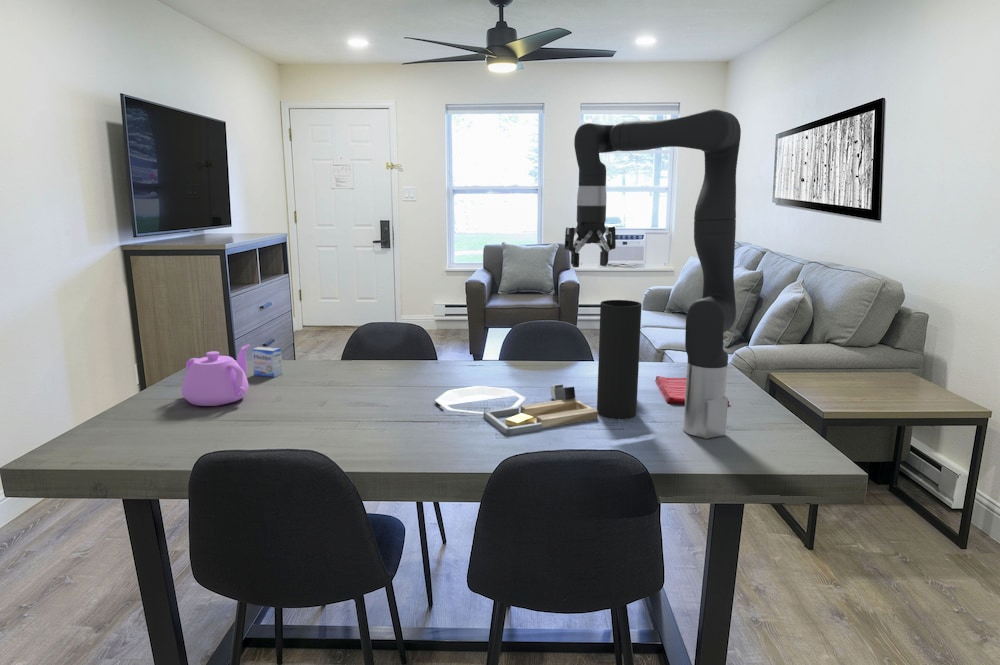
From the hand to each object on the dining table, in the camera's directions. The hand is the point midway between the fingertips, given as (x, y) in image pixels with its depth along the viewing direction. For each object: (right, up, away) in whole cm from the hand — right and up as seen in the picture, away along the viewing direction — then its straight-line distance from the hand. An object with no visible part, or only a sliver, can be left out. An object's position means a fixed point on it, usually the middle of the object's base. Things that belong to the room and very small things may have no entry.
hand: (589, 266), depth 174 cm
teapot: (-102, -36, +13) cm, 109 cm away
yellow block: (-18, -40, -9) cm, 45 cm away
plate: (-29, -38, +9) cm, 48 cm away
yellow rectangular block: (-20, -41, -11) cm, 47 cm away
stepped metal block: (-8, -34, +11) cm, 37 cm away
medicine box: (-98, -31, +37) cm, 109 cm away
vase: (+7, -40, -2) cm, 40 cm away
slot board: (-9, -40, -4) cm, 41 cm away
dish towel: (+32, -36, +19) cm, 52 cm away
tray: (-21, -41, -10) cm, 47 cm away
